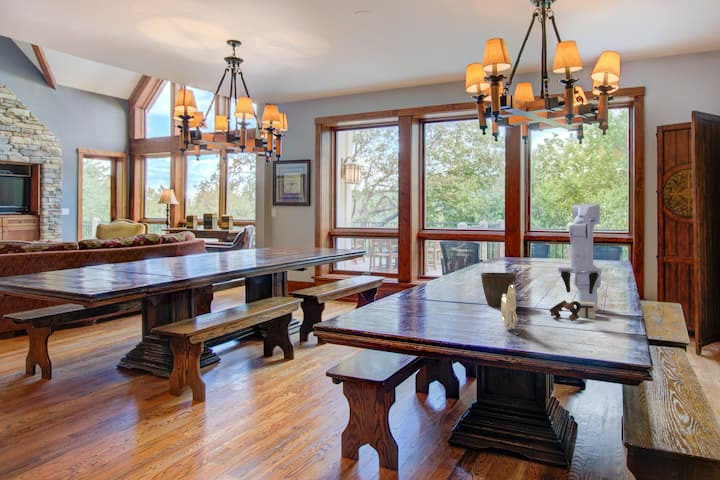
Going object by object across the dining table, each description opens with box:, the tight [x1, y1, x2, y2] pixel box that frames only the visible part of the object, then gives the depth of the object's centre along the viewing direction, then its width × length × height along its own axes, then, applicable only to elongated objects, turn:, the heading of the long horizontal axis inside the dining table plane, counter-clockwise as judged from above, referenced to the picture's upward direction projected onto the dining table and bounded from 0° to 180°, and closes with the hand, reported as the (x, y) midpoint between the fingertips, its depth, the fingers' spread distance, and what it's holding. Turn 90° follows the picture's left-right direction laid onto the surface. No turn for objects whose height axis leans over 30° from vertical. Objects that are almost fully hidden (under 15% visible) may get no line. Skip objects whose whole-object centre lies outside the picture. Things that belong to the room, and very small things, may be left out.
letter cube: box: [578, 302, 596, 319], centre depth 192 cm, size 6×6×6 cm
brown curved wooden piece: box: [549, 299, 581, 322], centre depth 187 cm, size 12×9×8 cm
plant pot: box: [480, 272, 517, 309], centre depth 213 cm, size 15×15×16 cm
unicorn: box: [500, 281, 518, 329], centre depth 172 cm, size 20×4×17 cm, turn 174°
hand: (579, 293), depth 180 cm, fingers open, 7 cm apart
